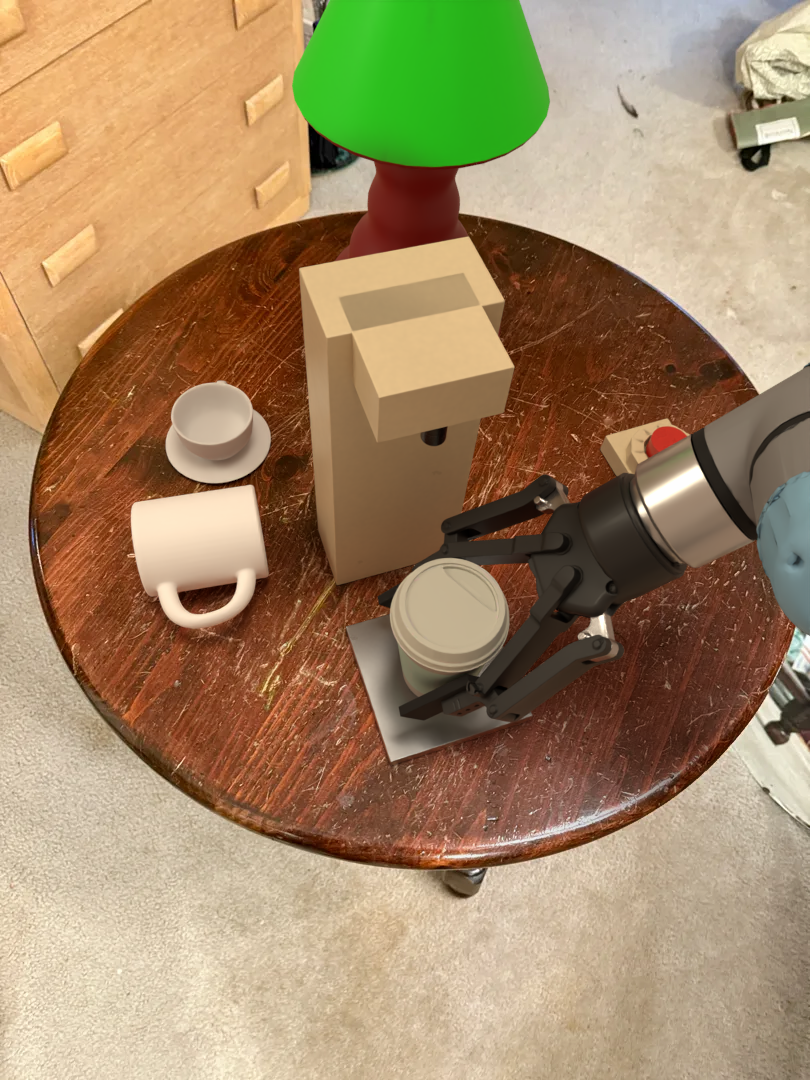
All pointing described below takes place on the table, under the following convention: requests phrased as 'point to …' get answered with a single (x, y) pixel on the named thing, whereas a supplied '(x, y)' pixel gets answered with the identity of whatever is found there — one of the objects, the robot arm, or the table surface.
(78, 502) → the table surface
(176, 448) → the teacup
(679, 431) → the red push button
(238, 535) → the mug
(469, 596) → the coffee cup
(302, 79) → the table lamp
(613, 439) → the control block
